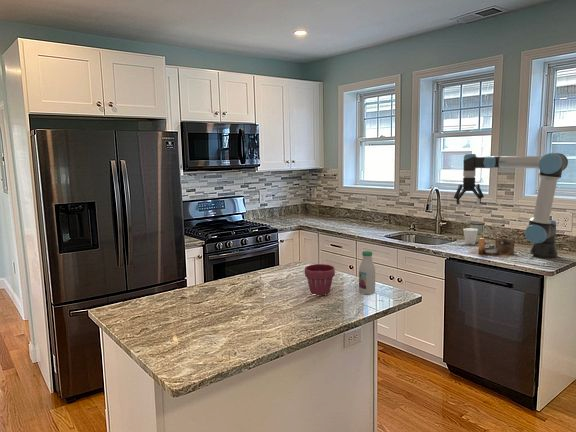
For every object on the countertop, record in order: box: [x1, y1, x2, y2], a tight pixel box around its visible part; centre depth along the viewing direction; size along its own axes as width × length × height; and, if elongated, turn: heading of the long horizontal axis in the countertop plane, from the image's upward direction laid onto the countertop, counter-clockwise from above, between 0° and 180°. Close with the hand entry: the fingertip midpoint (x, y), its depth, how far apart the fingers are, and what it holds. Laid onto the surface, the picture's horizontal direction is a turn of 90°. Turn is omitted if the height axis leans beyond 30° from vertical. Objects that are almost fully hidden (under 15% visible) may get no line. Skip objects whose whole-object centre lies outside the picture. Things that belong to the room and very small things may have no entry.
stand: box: [467, 237, 515, 259], centre depth 283 cm, size 24×17×10 cm
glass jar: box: [469, 221, 486, 244], centre depth 327 cm, size 10×10×14 cm
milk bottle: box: [358, 250, 376, 295], centre depth 211 cm, size 8×8×20 cm
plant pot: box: [304, 263, 336, 295], centre depth 211 cm, size 14×14×13 cm
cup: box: [462, 227, 478, 245], centre depth 316 cm, size 10×10×11 cm
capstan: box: [477, 237, 499, 255], centre depth 283 cm, size 11×12×10 cm
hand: (468, 208), depth 298 cm, fingers open, 13 cm apart
